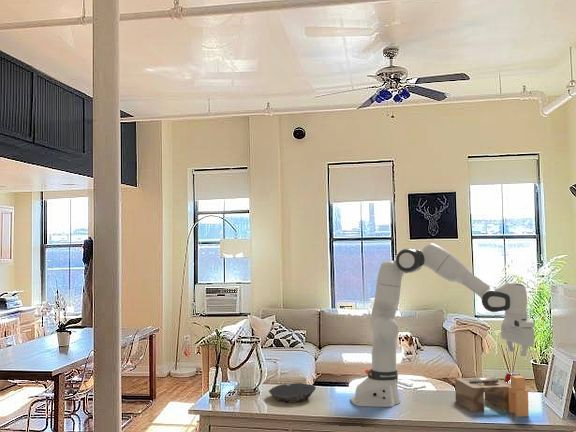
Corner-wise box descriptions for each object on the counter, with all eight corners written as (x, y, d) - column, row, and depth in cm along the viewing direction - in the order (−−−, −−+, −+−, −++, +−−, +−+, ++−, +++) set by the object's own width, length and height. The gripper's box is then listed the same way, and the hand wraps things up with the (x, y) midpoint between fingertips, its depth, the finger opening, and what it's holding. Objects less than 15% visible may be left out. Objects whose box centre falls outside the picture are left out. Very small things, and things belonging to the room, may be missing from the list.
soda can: (507, 400, 246) (506, 374, 247) (504, 396, 253) (503, 370, 254) (523, 401, 245) (523, 374, 245) (520, 397, 252) (519, 371, 252)
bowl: (313, 406, 238) (312, 394, 238) (264, 406, 242) (264, 395, 242) (319, 393, 259) (318, 382, 260) (274, 393, 263) (274, 382, 264)
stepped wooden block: (517, 416, 223) (516, 378, 224) (509, 412, 230) (508, 375, 231) (528, 416, 224) (527, 378, 225) (520, 411, 230) (519, 374, 231)
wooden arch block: (473, 411, 230) (472, 384, 231) (455, 400, 247) (455, 374, 247) (514, 410, 232) (514, 382, 233) (494, 398, 249) (494, 373, 250)
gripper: (496, 317, 239) (497, 349, 238) (522, 324, 219) (523, 358, 218) (510, 317, 240) (510, 348, 239) (537, 323, 219) (538, 358, 219)
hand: (517, 353), depth 228 cm, fingers open, 8 cm apart
